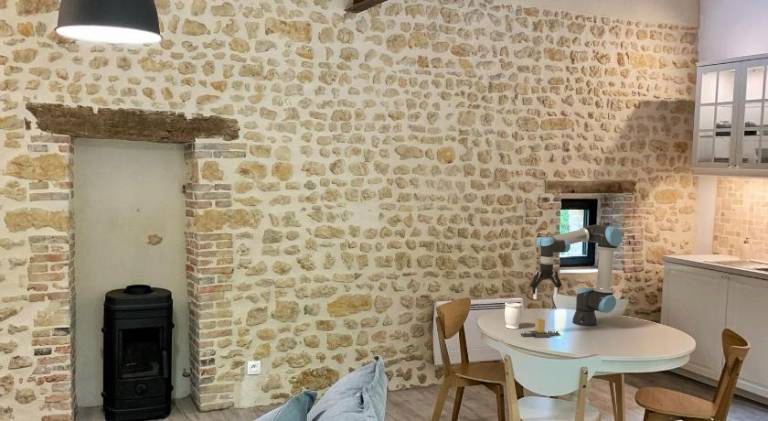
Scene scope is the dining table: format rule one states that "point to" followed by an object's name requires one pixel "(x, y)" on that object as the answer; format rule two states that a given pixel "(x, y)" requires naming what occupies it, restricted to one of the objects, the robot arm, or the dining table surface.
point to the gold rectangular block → (539, 326)
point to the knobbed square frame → (545, 335)
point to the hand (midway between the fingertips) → (545, 298)
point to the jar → (513, 315)
